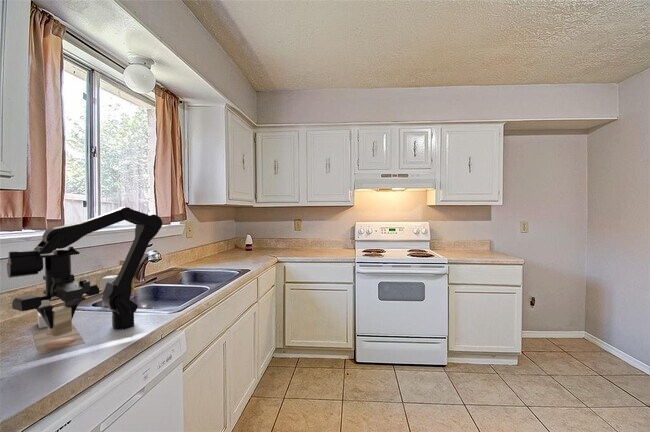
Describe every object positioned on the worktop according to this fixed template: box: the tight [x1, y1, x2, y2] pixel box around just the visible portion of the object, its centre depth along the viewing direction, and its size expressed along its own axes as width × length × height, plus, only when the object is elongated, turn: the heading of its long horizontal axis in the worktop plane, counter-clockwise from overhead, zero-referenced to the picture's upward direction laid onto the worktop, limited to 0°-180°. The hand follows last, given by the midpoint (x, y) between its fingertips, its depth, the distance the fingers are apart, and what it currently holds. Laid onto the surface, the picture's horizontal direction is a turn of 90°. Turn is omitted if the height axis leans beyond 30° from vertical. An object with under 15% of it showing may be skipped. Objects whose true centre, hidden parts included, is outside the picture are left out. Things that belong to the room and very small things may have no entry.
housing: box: [37, 311, 48, 329], centre depth 108 cm, size 6×6×5 cm
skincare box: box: [100, 274, 118, 308], centre depth 130 cm, size 6×4×12 cm
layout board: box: [31, 323, 86, 355], centre depth 96 cm, size 22×10×1 cm, turn 46°
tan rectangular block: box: [47, 305, 73, 336], centre depth 92 cm, size 4×4×7 cm
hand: (60, 325), depth 92 cm, fingers closed on tan rectangular block, 4 cm apart
